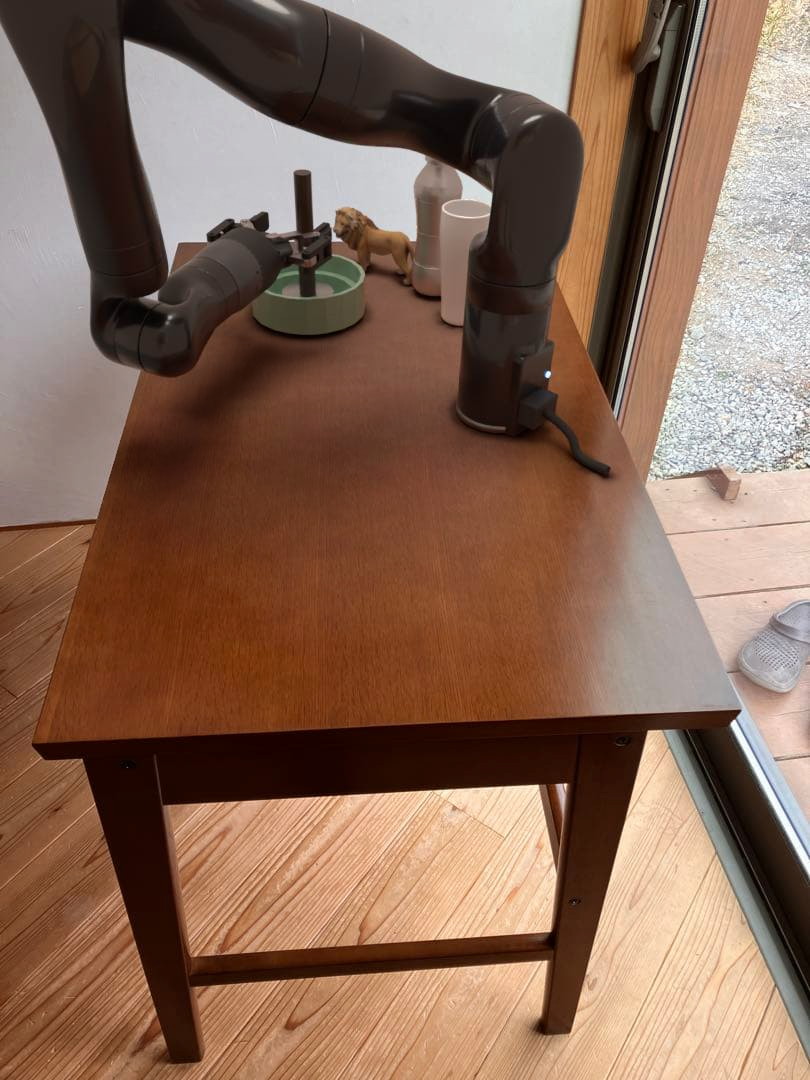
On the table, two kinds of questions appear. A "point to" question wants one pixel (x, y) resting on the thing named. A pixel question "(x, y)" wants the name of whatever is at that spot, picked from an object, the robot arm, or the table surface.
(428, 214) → the plastic bottle
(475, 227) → the drinking glass
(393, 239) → the lion figurine
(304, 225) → the peg stand
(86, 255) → the robot arm
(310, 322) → the bowl
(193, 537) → the table surface
